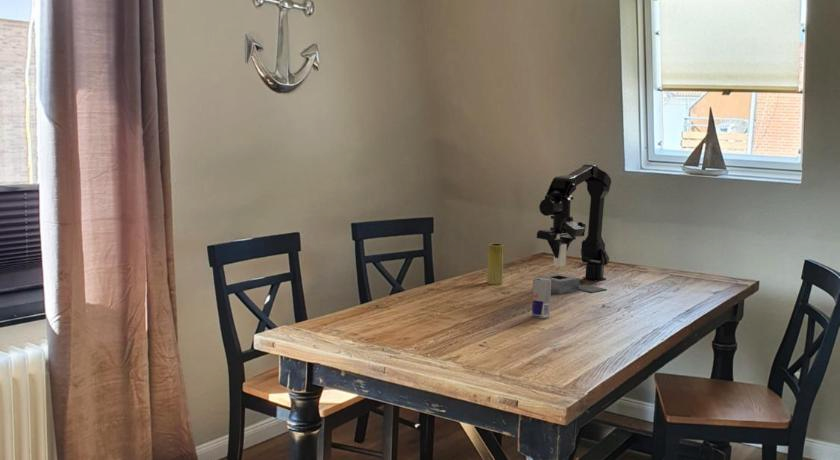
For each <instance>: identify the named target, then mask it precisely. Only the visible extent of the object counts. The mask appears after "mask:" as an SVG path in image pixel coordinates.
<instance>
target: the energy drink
mask: <svg viewBox="0 0 840 460" xmlns="http://www.w3.org/2000/svg"><path fill="white" fill-rule="evenodd" d="M532 285H533V286H532V310H531V311H532V312H531V315H532V317H533V318H535V319H540V320H541V319H549V317H550V315H551V314H550V311H551V293H552V292H551V280H550V278H547V277H540V276H536V277H534V278H533V284H532Z"/></svg>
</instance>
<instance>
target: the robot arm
mask: <svg viewBox="0 0 840 460" xmlns="http://www.w3.org/2000/svg"><path fill="white" fill-rule="evenodd" d="M583 182H584V183H586V190H587V192H588V194H589V196H590V203H589V216H588V227H586V223H585V222H584V221H578V222H574V217H573V216H571V201H573V200H575V199H574V197H573V196H572V194H573V193H574V192H575V191H576V190H577V187H578V186H579V185H580V184H582V183H583ZM611 185H612V179H611V177H610V175H609V174H608V173H607V172H606V171H604V170H602V169H600V168H599V167H598V166H597V165H596V164H583V165H582V166H581V167H579V168H578V169H575V170H574V171H572V172H571V173H569V174H566V175H565V174H564V175H558V176H554V178H553V179H552V181H551V182H550V185H549V187H548V190H547V192H546V194H545V195H544V199H542V200H541V201H540V204H539V206H538V208H539V212H540V213H541V214H542V215H543V216H544V217H545V216H550V219H551V220H552V227H551V226H550V229H545V228H544V229H538V231H537V232H536V239H540V240H545V241H546V242H547V243H548V245H549V247H550V248H551V251H552V253H553V257H554V256H555V258H558V256H559V246H560V243H564V244H567V248H566V253H567V252H568V250H569V247H570V245H571V243H572V242H573V241H574V240H576V239H577V238H576V237H579V238H580V237H585V233H586V228H588V229H587V236H586V238H585V239H583V240H582V241H581V249H580V254H581V261H582V263H586V266H585V276H582V279H583V280H588V281H592V282H599V281H606V280H607V277H604V273H605V272H604V270H605V266H607V265H608V264H609V263H610V257H609V254H608V253H607V251H606V244H605V241H604V240H603V238H602V230H603V219H604V218H603V217H604V206H605V197H606V196H607V195H608V194H609V192H610V188H611Z"/></svg>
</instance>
